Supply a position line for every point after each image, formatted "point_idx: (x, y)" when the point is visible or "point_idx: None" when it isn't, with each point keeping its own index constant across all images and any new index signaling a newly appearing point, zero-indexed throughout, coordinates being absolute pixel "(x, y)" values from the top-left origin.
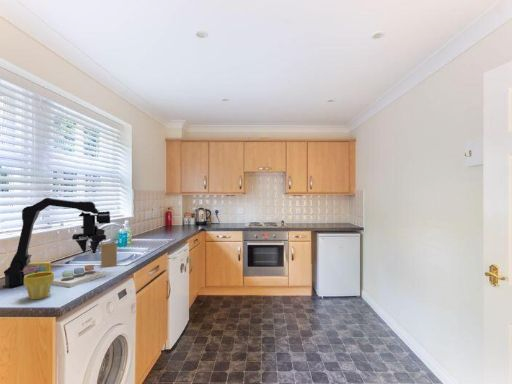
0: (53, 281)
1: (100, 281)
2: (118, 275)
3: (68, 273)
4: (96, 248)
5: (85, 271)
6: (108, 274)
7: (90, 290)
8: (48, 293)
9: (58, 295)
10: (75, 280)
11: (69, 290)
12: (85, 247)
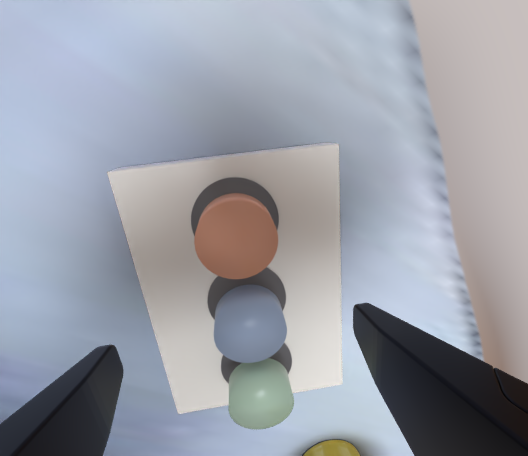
0: (209, 405)
1: (406, 240)
2: (423, 87)
3: (290, 406)
4: (448, 353)
5: (158, 209)
6: (321, 104)
7: (470, 339)
8: (356, 452)
9: (386, 423)
10: (324, 350)
11: (374, 382)
12: (55, 433)
